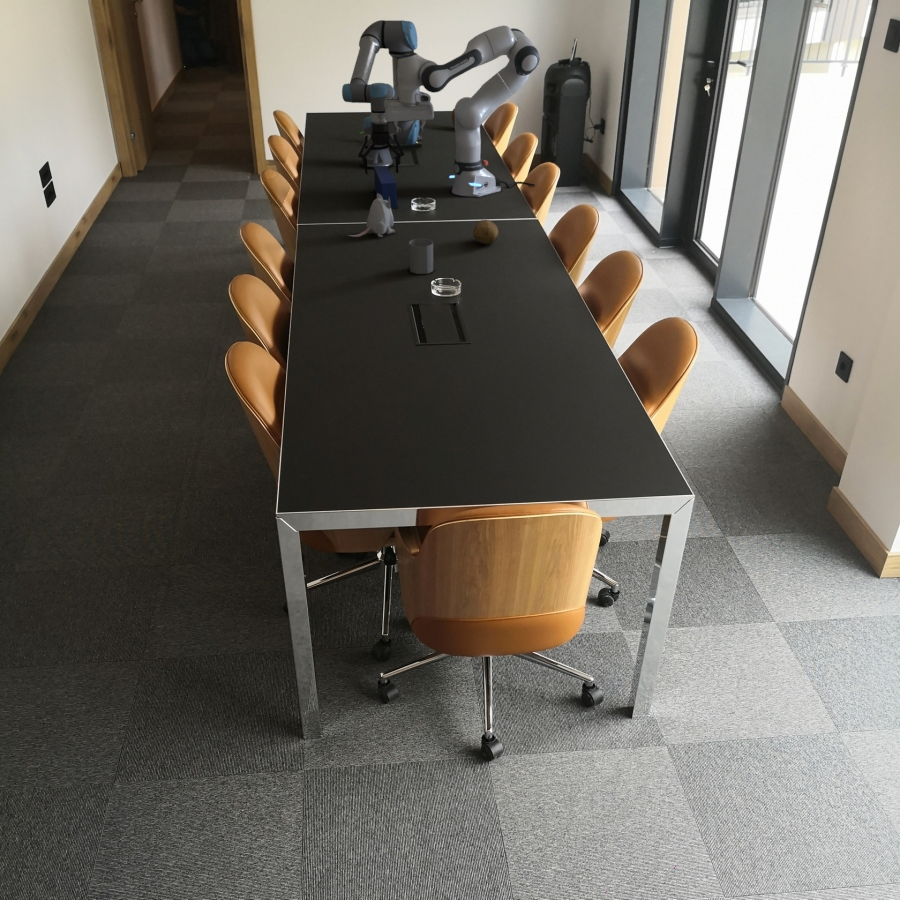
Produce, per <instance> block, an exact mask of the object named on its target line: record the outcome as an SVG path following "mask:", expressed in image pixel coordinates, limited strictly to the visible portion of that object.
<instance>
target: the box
mask: <svg viewBox="0 0 900 900" xmlns="http://www.w3.org/2000/svg"><path fill="white" fill-rule="evenodd" d="M373 174H374V175H373V177H374V191H375V195H377V193H379V194H380V195H381V196H382V198H383V200H386V201H388V199H389V198H390V204H391V210H393V209H397V208H398V206H397V205H398V204H397V203H398V202H397V181H396V180H395V178H394V176H393V174H392V171H391V170H390V167H388V166H374V169H373Z"/></svg>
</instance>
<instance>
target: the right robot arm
mask: <svg viewBox="0 0 900 900" xmlns="http://www.w3.org/2000/svg"><path fill="white" fill-rule="evenodd" d="M501 56H506V57H507V59H508V62H507V64H506V65H505V66H504V67H503V68H501V69H500V70H499V71H497V72H496V73H495V74H494V75H493V76H491V77H490V78H489V79H488V80H486V81H485V82H484V83H483V84H481V86H480V87H479V89H478V90H477V91H475V93H474V94H473V95H472V96H471V97H469V96H464V97H462V98H460V99H458V100H457V102H456V103H455V105H454V108H455V110H454V114H455V128H454V138H455V146H454V147H455V156H454V157H455V158H454V165H453V166H454V167H453V170H454V175H449V179H453V184H452V189H451V193H452V194H453V195H457V196H461V197H472V198H473V197H475V198H480V197H484V196H487V195H491V194H495V193H498V192H501V191H502V188H501V184H504V185H505V186H506V187H507V188H508V189H509V188H512V187H514V185H526V186H531V187H535V186H536V184H535V183H530V182H524V181H514V182H512V183H511V184H510V185H509V184H508V182H507V181H505V180H501V179H499V178H498V177H495V175H494V174H493V173H491V172H490V171H489V170H488V169H486V168H485V167H484V166H488V165H489V161H488V160H485V159H481V153H482V152H481V151H482V150H481V148H482V147H481V146H482V144H481V143H482V139H481V125H482V124H483V123H485V121H486V120H487V119H488V118H489V117H490V116H491V115H492V114H493V113H494V112H495V111H496V110H497V109H498V108H499V107H500V106H501V105H502V104H504V103H505V102H506V101H507V100H508V99H510V98H511V97H513V95H515V94H516V93H517V92H518V91H519V90H520V89H521V88H522V87H523V86H524V85H525V84H526V82H528V80H529V78H530V75H531V74H532V72H533V71H535V70H536V68H537V67H538V65H539V63H540V58H541V57H540V53H539V51H538V49H537V47H536V46H535V45H534V43H533V42H532V40H531V39H530V38H529V37H528V36H527V35H526V34H525V33H524V32H523V31H522V30H520V29H519V28H510V27H509V26H508V25H499V26H496V27H495V26H494V27H493V28H489V29H487V30H485V31H483V32H480V33H479V34H477V35H475V36H474V37H473V38H470V39H469V41H468V42H467V44H466V48H465V50H464V51H463V52H462V54H461V55H459V56H456V57H455V58H453V59H451V60H449V61H448V62H446V63H443V64H438V63H436V62H435V61H433V60H429V59H426V58H424V57H422V56H421V55H419V54H418V53H417V52H414V53H413V52H412V53H406V54H403V55H401V56H400V58H399V60H398V80H399V86H398V97H388V98H387V99H385V100H384V107H385V119H386V120H387V121H388V122H392V121H394V124H395V126H396V128H397V133H398V132H401V131H400V130H401V128H400V127H398V126H397V125H396V124H398V121H416V120H419V121H421V125H419V132H420V133H421V132H424V127H425V125H426V123H427V121H433V120H434V118H435V110H434V105H433V103H432V97H431V95H430V94H429V93H427V92H423V91H421V90H420V89H421V87H423V88H424V90H426V91H428V92H430V93H434V94H435V93H439V92H441V91H442V90H444V88H445V87H447V86H448V84H449V83H450V82H451V81H452V80H454V79H456V78H458V77H460V76H461V75H463V74H466V73H467V72H469V71H470V70H472V69H474V68H477V67H480V66H483V65H485V64H488V63H490V62H493V61H494V60H496V59H498V58H500V57H501Z"/></svg>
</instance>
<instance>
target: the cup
mask: <svg viewBox="0 0 900 900" xmlns="http://www.w3.org/2000/svg"><path fill="white" fill-rule="evenodd" d="M408 253H409V272H411V273H412V274H416V275H426V274H430V273H432V272H434V241H433V240H431V239H428V238H422V237H421V238H420V237H419V238H414V239H411V240H410V241H409V242H408Z"/></svg>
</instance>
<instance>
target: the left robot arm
mask: <svg viewBox="0 0 900 900" xmlns="http://www.w3.org/2000/svg"><path fill="white" fill-rule="evenodd" d="M417 32H418V31H417V28H416V25H415V24H414V22H413V21H410V20H405V19H403V20H402V19H401V20H398V19H397V20H385V19H384V20H383V19H381V20H377V21H374V22H373V23H371V24H370V25H368V26H367V27H366V28H365V30H364V31H362V34H361V35H360V38H359V41H358V47H359V49H358V53H357V57H356V60H355V64H354V66H353V70H352V75H351V77H350V82H348V83H345V84H342V86H341V87H342V88H341V96H342V97H341V98H342V100H343V101H344V102H345V103H352V104H370V115H368V116H366V117H365V118H364V119H363V131H364V133H363V138H364V139H363V140H362V142H363V143H361V146H360V148H359V150H358V152H357V157H358V158H360V159H361V166H362V167H363V168H364V173H365V175H368V174H369V173H368V169H371V170H374V166H388V167H389V168H390V167H392V166H394V161H393V159H395V173H396V174H399V165H401V158H402V157H403V156H405V152H404V150H403V149H402V146H401V145H403V146H404V145H405V146H410V145H411V146H412V145H415V144H416V143H417V141H418V138H419V132H420V131H419V126H420V120H416V121H398V124H396V125H397V126H398V127H400V128H401V130H400V131H401V132H398V133H397V128H396V126H395V124H394V121H392V122H388V121H387V120H386V119H385V107H384V100H385V99H387V98H388V97H398V86H399V80H398V60H399V58H400V56H401V55H403V54H406V53H412V52H413V53H415V50H417V49H418V41H419V40H418V33H417ZM380 49H381V50H382V49H385V50H388V55H389V56H390V57H391V62H392V65H391V66H392V85H391V84H389V83H384V82H374V83H371V84H369V80H370V78H371V73H372V69H373V66H374V63H375V59H376V55H377V54H378V53H379V52H380ZM393 145H396V147H397V149H398V150H397V149H396V148H395V147H394V146H393ZM390 149H391V150H390ZM390 151H392V152H393V153H394V154H395V155H393V156H392V155H391V152H390Z"/></svg>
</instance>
